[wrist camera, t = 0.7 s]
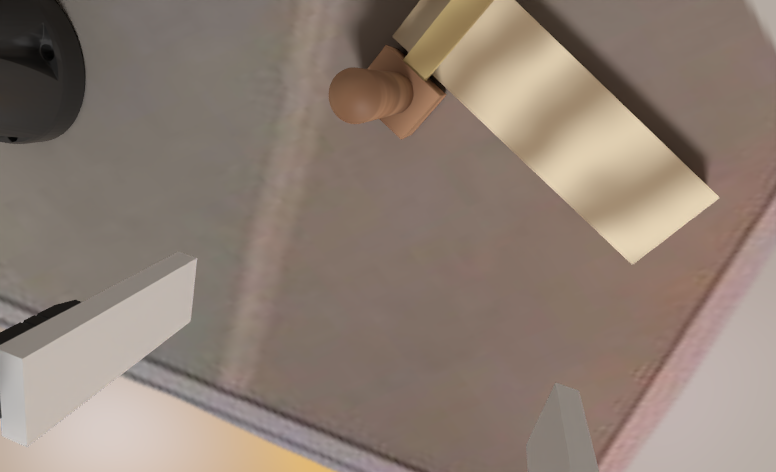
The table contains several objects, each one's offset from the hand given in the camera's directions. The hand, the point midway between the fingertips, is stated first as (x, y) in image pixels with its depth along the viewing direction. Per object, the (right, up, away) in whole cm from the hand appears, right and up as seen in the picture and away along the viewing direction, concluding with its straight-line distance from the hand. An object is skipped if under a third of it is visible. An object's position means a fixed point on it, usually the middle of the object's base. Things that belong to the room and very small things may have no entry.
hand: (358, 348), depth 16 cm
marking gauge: (+5, +18, +18) cm, 26 cm away
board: (+13, +13, +18) cm, 25 cm away
